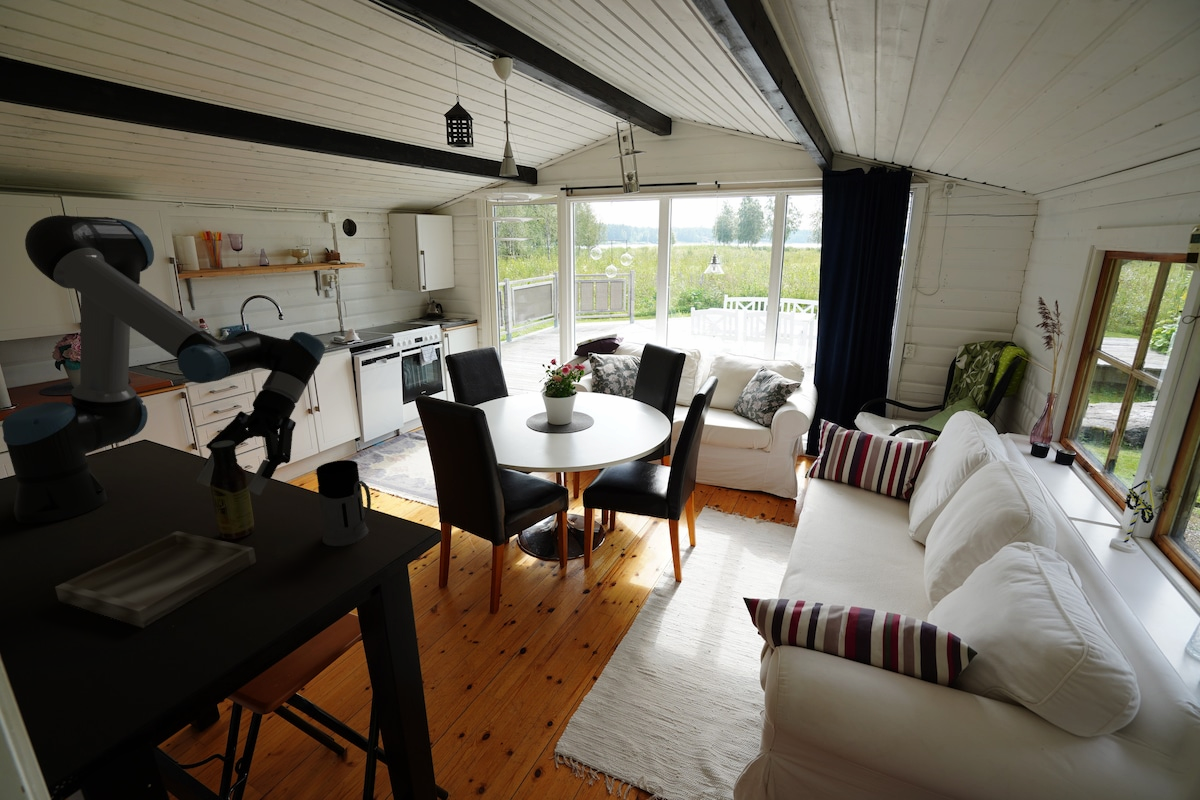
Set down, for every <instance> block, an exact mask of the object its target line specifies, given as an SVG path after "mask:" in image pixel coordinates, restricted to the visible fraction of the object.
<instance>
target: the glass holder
mask: <svg viewBox="0 0 1200 800" xmlns="http://www.w3.org/2000/svg"><path fill="white" fill-rule="evenodd" d="M358 465H359V464H358V462H357V461H354V460H348V459H342V460H334V461H329V462H326V463H323V464H321V465H319V466H318V467H316V469H315V472H316V478H317V480H316V481H317V492H318V498H319V499H318V501H319V507H320V514H321V521H322V528H323V536H322V539H321V540H322V543H324V544H325V545H327V546H330V545H331V546H332V547H343V546H348V545H352V543H353V544H355V542H356V543H358V542H360V541H362V540H364V539H365V538H366V537H367V536H368V535H369V533H368V532H370V530H369V527H367V524H366V520H367V519H368V518H369V516H370V513H371V509H372V508H371V507H372V502H371V492H370V489H369V487H368V485H367V484H366V483H365V481H363V480H360V474H359V473H360V472H359V467H358ZM362 487H363V489H364V491H365V496H366V511H365V508H364V507H365V506H364V501H363V500H364V499H363V491H362ZM367 534H368V535H367ZM366 535H367V536H366ZM365 536H366V537H365ZM364 537H365V538H364ZM363 538H364V539H363ZM361 539H362V540H361Z"/></svg>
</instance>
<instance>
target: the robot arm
mask: <svg viewBox="0 0 1200 800" xmlns="http://www.w3.org/2000/svg"><path fill="white" fill-rule="evenodd" d="M24 241H25V242H24V243H25V245H24V246H25V247H24V248H25V251H26V253H27V256H28V258H29V259H30V261H31V262H32V264H33V265H34V266H35V268H36V269H37V270H38V271H39V272H41V274H42V275H44V276H45V277H46V278H48V279H49V280H51V281H52V282H54V283H55V284H56V285H58V286H59V287H61V288H63V289H64V288H65V289H67V290H68V289H70V290H71V289H73V290H76V291H77V292H78V293H79V294H80V351H79V352H80V353H79V354H80V357H79V358H80V361H79V362H80V363H79V366H80V368H79V369H80V370H79V372H80V373H79V374H80V376H79V377H80V379H79V382H80V383H79V384H78V385H76V386H74V387H73V388H72V389H71V392H70V393H71V394H70V395H71V397H70V398H71V400H70V401H71V402H67V401H49V402H45V403H41V404H38V405H37V404H34V405H31V406H28V407H24V408H21V409H18V410H16V411H13V412H12V413H10V414H8V415H7V416H6V417H5V418H4V419H3V421H2V423H1V429H2V432H3V441H4V443H5V444H6V449H7V451H8V455H9V457H10V461H11V464H12V468H13V472H14V476H15V478H16V482H17V490H16V494H15V500H14V506H13V513H14V516H15V520H16V521H17V522H18V523H21V524H27V525H28V524H29V525H30V524H32V525H33V524H34V525H35V524H44V523H51V522H58V521H61V520H66V519H70V518H74V517H77V516H79V515H82V514H83V515H84V514H86V513H89V512H91V511H93V510H95V509H97V508H99V507H101V506H103V504H105V503H106V502H107V500H108V496H107V492H106V490H105V488H104V487H103V485H102V484H101V483H100V482H99V480H98V478H97V477H96V476H95V475H94V474H93V472H92V471H91V470H90V467H89V463H88V458H87V454H89V453H93V452H95V451H98V450H100V449H103V448H106V447H108V446H111V445H113V444H114V445H115V444H119V443H123V442H125V441H127V440H129V439H130V438H133V437H135V436H137V435H138V434H139V433H141V432H142V431H143V430H144V428H145V426H146V424H147V421H148V416H149V415H148V408H147V406H146V405H145V404H143V403H144V400H143V399H142V398H141V397H140V396H139V395H138V394H137V391H136V390H135V389H134V388H133V387H132V386H130V385H129V373H130V371H129V370H130V368H129V367H130V342H131V341H130V339H131V336H130V335H131V329H133V330H134V331H136V332H138V333H139V334H140V335H142V336H143V337H145V338H147V339H148V340H149V341H151V342H152V343H154V344H155V345H157V346H158V347H160V348H161V349H162V350H164V351H165V352H167V353H168V354H170V355H171V356H173V357H174V358H176V359H177V367H178V369H179V371H180V372H181V373H182V374H183V375H182V376H183V377H184V378H185V379H187V380H188V381H190V382H193V383H195V384H206V383H211V382H217V381H221V380H223V379H225V378H228V377H231V376H234V375H239V374H241V373H246V372H249V371H252V370H254V369H263V370H266V371H270V373H269V375H268V376H267V378H266V379H265V381H264V382H263V385H262V386H261V388H262V390H259V391H258V394H257V395H256V397H255V399H254V400H253V402H252V407H253V411H252V412H251V413H250V414H247V413H246V412H244V411H242V410H241V411H239V412H238V413H237V414H236V415H235V417H234V419H233V420H232V421H230V422H229V423H228V424H227V425H226V426H225V427H224V428H223V429H222V430H221V431H220V432H219V433H217V434H216V435H215V437H213V439H211V440H210V441H209V442H208V443H207V444H206V446H205V448H207V449H208V450H209V451H210V454H209V457H208V458H207V460H206V461H205V462H204V465H203V469H202V470H201V472H200V473H199V475H198V477H197V479H196V480H195V482H197V483H198V484H201V485H203V486H205V487H211V486H210V482H211V478H212V474H213V469H214V458H213V453H212V452H211V445H212V444H213V443H216V442H219V441H225V440H226V441H227V440H231V441H234V442H235V446H236V448H237V447H239V445H241V444H243V442H244V443H245V441H247V440H248V439H253V438H254V437H255V438H256V437H257V438H260V437H261V438H264V442H265V448H266V449H265V450H266V455H267V456H265V457H264V458H265V459H263V460H262V461H261V463H260V464H259V467H258V469H257V470H256V472H255V474H254V476H253V478H252V480H251V482H250V483H249V484H248V489H247V490H248V491H249V493H251V494H254V495H255V496H261V494H262V493H263V490H264V488H265V486H266V485H267V483H268V481H269V480H271V479H272V477H273V475H274V473H275V471H276V469H277V468H278V466H279V465H282V464H288V463H290V462H291V456H292V445H293V433H294V430H295V427H296V424H297V422H296V421H295V420H293V419H292V418H291V416H292V414H293V412H294V410H295V408H296V404H297V403H298V402H299V401H300V398H301V397H302V395H303V393H304V391H305V390H306V388H307V386H308V384H309V381H310V380H311V379H312V377H313V374H314V373H315V371H316V369H317V367H318V366H319V365H320V363H321V360H322V359H323V357H324V354H325V351H326V346H325V344H324V343H323V342H322V341H321V340H320V338H318V337H316V336H314V335H313V334H311V333H308V332H305V331H299V332H298V331H297V332H294V333H293V334H292V336H290V338H289V339H286V338H279V337H276V336H271V335H266V334H262V333H258V332H257V331H253V330H245V329H234V330H232V331H231V333H229V334H227V336H226V337H225V339H221V340H219V339H218V338H216V337H215V336H214V335H213V334H211V333H208V332H207V331H205V330H204V329H203V328H202V327H200V326H199V325H198V324H196V323H194V322H193V321H192V320H190V319H189V318H187V317H186V316H184V315H183V314H181V313H180V312H178V311H177V310H176V309H174V308H172V307H171V306H169V305H168V304H167V303H166V302H164V301H163V300H161V299H160V298H158V297H156V296H155V295H154V294H152V293H151V292H149V291H148V290H146V289H145V288H144V287H142V286H141V285H140V283H141V272H144V271H146V270H147V269H149V267H151V266H152V265H153V262H154V259H155V251H154V247H153V243H152V241H151V239H150V237H149V236H148V235H147V234H146V233H145V232H144V230H143V229H142V228H141V227H140V226H138V225H137V224H135V223H133V222H131V221H129V220H127V219H126V220H125V219H121V218H114V217H108V216H80V215H79V216H74V215H71V216H70V215H64V214H63V215H61V214H60V215H59V214H58V215H52V216H51V215H50V216H47V217H43V218H41V219H39V220H37V221H36V222H34V224H32V225H31V226H30V228H29V230H27V232H26V236H25V239H24Z"/></svg>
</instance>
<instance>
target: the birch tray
mask: <svg viewBox="0 0 1200 800" xmlns="http://www.w3.org/2000/svg"><path fill="white" fill-rule="evenodd" d="M255 552H256V551H255V548H254V547H251V546H247V545H242V544H237V543H233V542H229V541H225V540H224V541H223V540H221V539H214V538H210V537H206V536H201V535H196V534H193V533H187V532H183V531H178V530H176V531H174V532H172V533H169V534H167V535H166V536H164V537H161V538H159V539H157V540H155V541H152V542H150V543H148V544H145V545H143V546H142V547H139V548H137V549H134V550H132V551H131V552H129V553H126V554H124V555H121V556H119V557H117V558H115V559H113V560H111V561H108V562H106V563H104V564H102V565H100V566H98V567H95V568H93V569H90V570H89V571H87V572H85V573H82V574H80V575H77V576H75V577H74V578H71V579H69V580H67V581H65V582H63V583H60V584H59V585H56V586H54V588H55V592H56V595H57V596H56V597H57V599H58V602H59V601H61V602H65V603H68V604H72V605H75V606H78V607H81V608H83V609H86V610H89V611H91V612H90V613H92V612H94V613H93V614H95V613H98V614H101V615H100V616H102V615H104V616H103V617H105V616H108V617H111V618H110V619H112V618H114V619H113V620H115V619H117V620H116V621H118V620H120V621H119V622H122V621H123V622H122V623H125V622H126V624H128V623H129V625H132V626H135V627H139V628H141V629H144V628H146V627H147V626H149V625H151V624H152V623H155V622H156V621H158V620H159V619H161V618H163V617H165V616H166V615H168V614H170V613H172V612H174V611H175V610H177V609H178V608H180V607H182V606H183V605H186V604H187V603H189V602H190V601H192V600H194V599H195V598H198V597H199V596H200V595H201V596H202V594H204V593H206V592H208V591H209V590H211V589H213V588H215V587H216V586H218V585H220V584H221V583H223V582H225V581H227V580H228V579H230V578H231V577H234V576H235V575H237V574H238V573H240V572H242V571H243V570H245V569H247V568H249V567H251V566H253V565H254V564H255V563H257V559H256V553H255ZM98 614H97V615H98ZM108 617H107V618H108Z"/></svg>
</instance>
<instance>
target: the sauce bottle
mask: <svg viewBox="0 0 1200 800" xmlns="http://www.w3.org/2000/svg"><path fill="white" fill-rule="evenodd" d="M236 449H237V447H236V446H235V442H234V441H231V440H227V441H226V440H225V441H219V442H216V443H213V444H212V445H211V450H210V453H211V452H212V453H213V458H214V469H213V474H212V478H211V482H210V486H209V487H210V491H211V496H212V502H213V507H214V513H215V518H216V523H217V529H218V531H219V535H220V537H221V538H222V539H225V540H229V541H231V540H232V541H233V540H237V539H242V538H244V537H246V536H249V535H250V534H252V533H253V532H254V530H255V525H254V524H255V520H254V519H255V518H254V513H253V506H252V502H251V501H252V500H251V495H250V493H251V492H250V491H248V490H247V489H248V487H249V484H248V479H247V474H246V470H245V469H244V468H243V466H241V465H239V463H238V458H237V453H236Z"/></svg>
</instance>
